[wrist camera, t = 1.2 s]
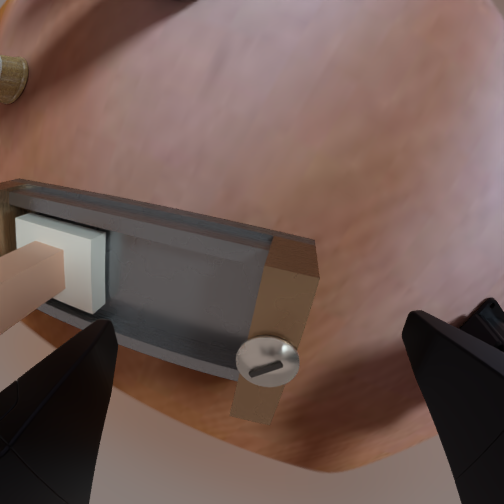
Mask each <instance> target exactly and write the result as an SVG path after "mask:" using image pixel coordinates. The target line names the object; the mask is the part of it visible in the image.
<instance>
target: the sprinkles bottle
mask: <svg viewBox="0 0 504 504" xmlns="http://www.w3.org/2000/svg"><path fill="white" fill-rule="evenodd" d="M27 77H28V65H27V62H26V61H25V59H24V58H22V57H10V56H3V55H0V102H1V103H4V104H10V103H12V102H14V101H15V100H16V99H17V98H18V97H19V96H20V94H21V93H22V91H23V89H24V87H25V84H26V81H27Z"/></svg>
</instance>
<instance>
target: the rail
mask: <svg viewBox="0 0 504 504" xmlns="http://www.w3.org/2000/svg"><path fill="white" fill-rule="evenodd" d="M28 213H34V214H38V215H41V216H45V217H49V218H53V219H56V220H60V221H64V222H68V223H72V224H75V225H79V226H83V227H87V228H91V229H95V230H98V231H102V232H106V242H105V304H104V305H103V306H102V307H101V308H100V309H98V310H97V311H96V312H95V313H94V314H91V313H88V312H85V311H83V310H80V309H78V308H75V307H73V306H70V305H68V304H66V303H63V302H61V301H59V300H56V299H54V298H51V299H50V300H48V301H47V302H45V303H44V304H42V305H41V306H40V307H38V308H37V309H38V310H40V311H42V312H44V313H46V314H48V315H50V316H52V317H55V318H57V319H59V320H61V321H63V322H66V323H68V324H70V325H72V326H75V327H77V328H79V329H82V330H83V329H84V328H86V327H87V326H89V325H90V324H91V323H93V322H94V321H95V320H97V319H109V320H111V321H112V323H113V326H114V330H115V334H116V338H117V342H118V344H119V345H122V346H125V347H127V348H130V349H133V350H136V351H138V352H141V353H144V354H147V355H150V356H153V357H156V358H159V359H162V360H165V361H168V362H171V363H174V364H177V365H181V366H184V367H187V368H190V369H194V370H197V371H201V372H204V373H208V374H211V375H215V376H219V377H222V378H226V379H230V380H234V381H238V382H237V386H236V391H235V395H234V399H233V403H232V407H231V411H230V416H232V417H236V418H240V419H244V420H248V421H253V422H257V423H262V424H267V425H270V423H271V421H272V418H273V416H274V413H275V410H276V408H277V405H278V402H279V400H280V397H281V394H282V392H283V389H284V386H285V384H286V383H288V382H289V381H291V380H292V379H293V378H294V377H295V376H296V374H297V372H298V369H299V355H298V352H297V349H298V346H299V343H300V340H301V337H302V334H303V331H304V328H305V325H306V321H307V318H308V315H309V312H310V309H311V306H312V302H313V299H314V296H315V293H316V289H317V286H318V283H319V279H320V277H319V269H318V261H317V254H316V246H315V240H312V239H308V238H304V237H300V236H295V235H291V234H287V233H283V232H278V231H274V230H270V229H265V228H261V227H256V226H252V225H248V224H243V223H239V222H234V221H230V220H225V219H221V218H216V217H212V216H207V215H202V214H198V213H193V212H188V211H184V210H179V209H174V208H169V207H165V206H160V205H155V204H150V203H145V202H140V201H135V200H130V199H125V198H120V197H115V196H110V195H105V194H100V193H95V192H89V191H84V190H79V189H74V188H68V187H63V186H57V185H52V184H46V183H41V182H35V181H30V180H24V179H15V180H11V181H6V182H2V183H0V257H1V256H3V255H5V254H8V253H10V252H12V251H14V250H16V249H17V243H16V224H15V218H16V217H19V216H22V215H25V214H28Z"/></svg>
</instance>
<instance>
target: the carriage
mask: <svg viewBox="0 0 504 504" xmlns="http://www.w3.org/2000/svg"><path fill="white" fill-rule="evenodd" d="M15 224H16V243H17V249H16V250H14V251H12V252H10V253H8V254H5V255H3V256H1V257H0V335H1V334H3V333H4V332H5V331H7V330H8V329H9V328H11V327H12V326H13V325H15V324H16V323H17V322H19V321H20V320H21V319H23V318H24V317H26V316H27V315H28V314H30V313H31V312H33V311H34V310H35V309H37V308H38V307H40V306H41V305H42V304H44V303H45V302H47V301H48V300H50V299H51V298H54V299H56V300H59V301H61V302H63V303H66V304H68V305H70V306H73V307H75V308H78V309H80V310H83V311H85V312H88V313H91V314H94V313H95V312H96V311H97V310H98V309H100V308H101V307H102V306H103V305H104V304H105V242H106V232H102V231H98V230H95V229H91V228H87V227H83V226H79V225H75V224H72V223H68V222H64V221H60V220H56V219H53V218H49V217H45V216H41V215H38V214H34V213H28V214H25V215H22V216H19V217H16V218H15Z"/></svg>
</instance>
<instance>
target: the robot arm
mask: <svg viewBox="0 0 504 504" xmlns="http://www.w3.org/2000/svg"><path fill="white" fill-rule="evenodd" d="M491 304H492V305H491ZM490 305H491V306H490ZM402 339H403V342H404V345H405V348H406V351H407V354H408V357H409V360H410V363H411V366H412V369H413V372H414V375H415V378H416V380H417V383H418V385H419V387H420V390H421V392H422V394H423V397H424V399H425V401H426V404H427V406H428V409H429V411H430V414H431V416H432V419H433V421H434V424H435V426H436V429H437V432H438V434H439V437H440V440H441V442H442V445H443V448H444V451H445V453H446V456H447V459H448V462H449V464H450V467H451V471H452V473H453V477H454V480H455V484H456V487H457V490H458V493H459V496H460V500H461V503H462V504H504V312H503V310H502V309H501V307H500V306H499V304H498V302H497V301H496V300H495V299H494V298H489V299H488V300H487V301H486V302H485V303H484V304H483V305H482V306H481V307H480V308H479V309H478V311H477V312H476V313H475V314H474V315H473V316H472V317H471V318H470V319H469V320H468V321H467V322H466V323H465V324H464V325H463V326H462V327H461V328H460V329H458V328H456V327H454V326H452V325H450V324H448V323H446V322H444V321H442V320H440V319H438V318H436V317H434V316H432V315H430V314H428V313H426V312H424V311H422V310H416V311H411V312H410V313H409V314H408V317H407V320H406V322H405V325H404V328H403V331H402ZM117 351H118V342H117V338H116V334H115V330H114V326H113V323H112V321H111V320H109V319H97V320H95V321H94V322H93V323H91V324H90V325H89V326H87V327H86V328H84V329H83V330H82V331H80V332H79V333H78V334H76V335H75V336H74V337H72V338H71V339H70V340H68V341H67V342H66V343H64V344H63V345H62V346H60V347H59V348H58V349H56V350H55V351H54V352H52V353H51V354H50V355H48V356H47V357H46V358H44V359H43V360H42V361H41V362H39V363H38V364H36V365H35V366H34V367H32V368H31V369H30V370H29V371H27V372H26V373H25V374H23V375H22V376H21V377H19V378H18V379H17V381H14V382H13V383H12V384H11V385H9V386H8V387H7V388H5V389H4V390H3V391H1V392H0V504H89V500H90V494H91V488H92V482H93V476H94V471H95V465H96V459H97V455H98V449H99V445H100V440H101V435H102V431H103V427H104V422H105V418H106V413H107V409H108V405H109V401H110V397H111V392H112V385H113V378H114V371H115V364H116V357H117Z"/></svg>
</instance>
